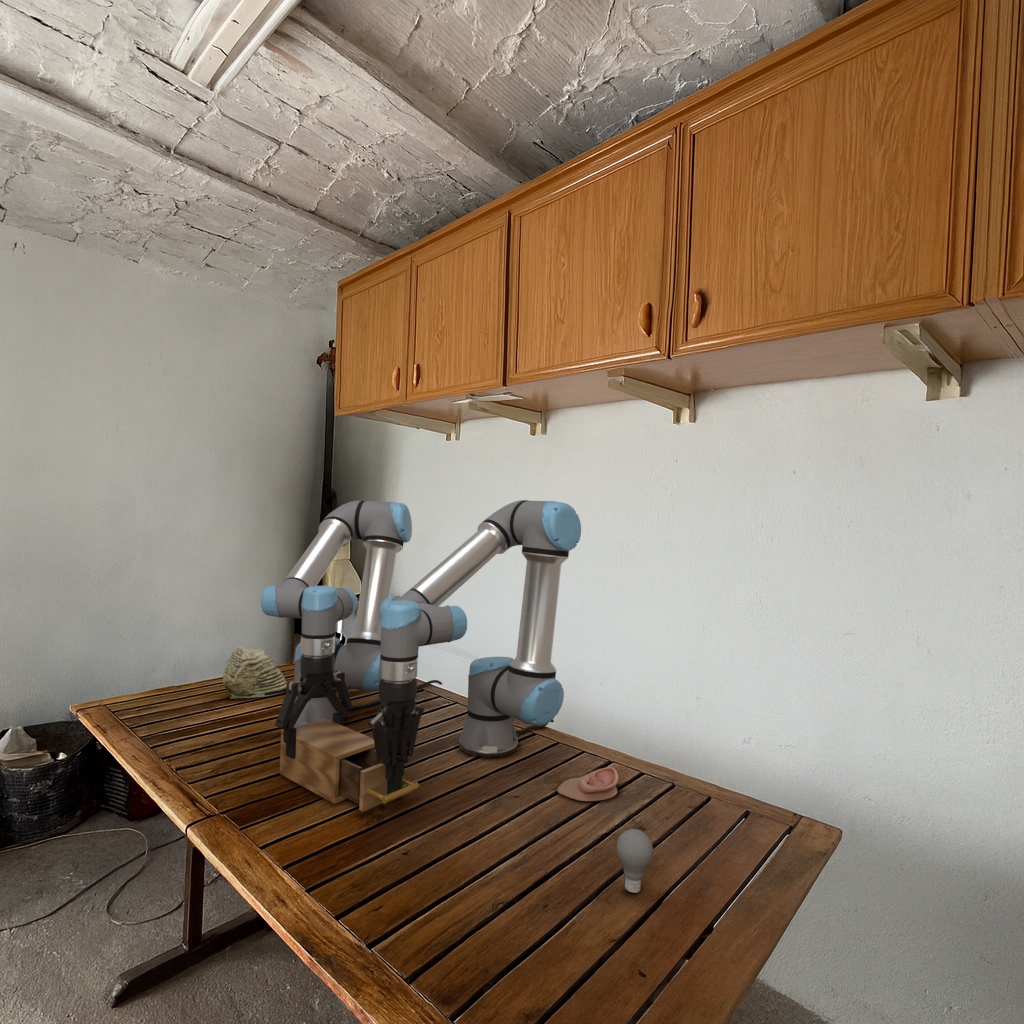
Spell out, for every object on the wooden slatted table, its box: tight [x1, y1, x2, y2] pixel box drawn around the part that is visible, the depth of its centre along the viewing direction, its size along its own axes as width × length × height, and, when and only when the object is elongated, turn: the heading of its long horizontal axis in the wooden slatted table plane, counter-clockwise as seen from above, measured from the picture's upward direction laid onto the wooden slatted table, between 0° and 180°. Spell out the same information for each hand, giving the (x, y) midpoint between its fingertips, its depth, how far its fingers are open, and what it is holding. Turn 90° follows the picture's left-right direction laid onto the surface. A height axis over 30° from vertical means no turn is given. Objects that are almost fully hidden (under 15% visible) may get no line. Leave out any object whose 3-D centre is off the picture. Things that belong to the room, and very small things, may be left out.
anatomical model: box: [556, 766, 619, 802], centre depth 142 cm, size 13×4×12 cm
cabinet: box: [279, 718, 375, 805], centre depth 142 cm, size 21×12×10 cm, turn 51°
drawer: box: [339, 748, 420, 813], centre depth 134 cm, size 25×10×8 cm, turn 51°
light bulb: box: [615, 828, 654, 894], centre depth 106 cm, size 6×6×10 cm
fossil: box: [222, 646, 287, 699], centre depth 198 cm, size 9×18×15 cm, turn 132°
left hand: (314, 749), depth 145 cm, fingers closed on cabinet, 11 cm apart
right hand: (394, 794), depth 128 cm, fingers closed
